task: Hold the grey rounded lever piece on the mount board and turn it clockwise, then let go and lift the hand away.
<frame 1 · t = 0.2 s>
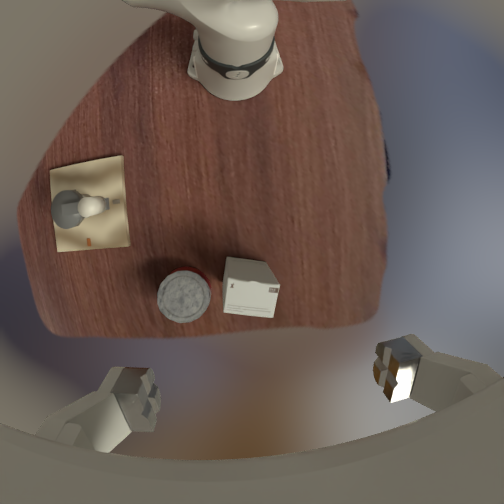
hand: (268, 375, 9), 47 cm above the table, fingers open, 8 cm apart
grey rounded lever piece: (72, 208, 42), point 11 cm above the table, hinge at 0.0°
skincare box: (245, 271, 58), on the table
canned food: (187, 288, 58), on the table
mount board: (88, 205, 53), on the table
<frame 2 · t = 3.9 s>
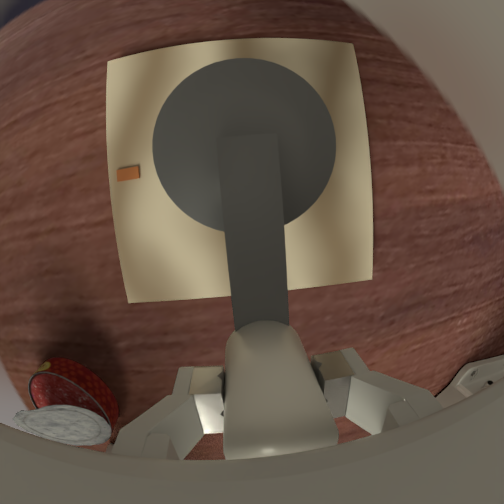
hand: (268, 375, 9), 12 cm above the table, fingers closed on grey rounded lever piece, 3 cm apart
grey rounded lever piece: (255, 227, 9), point 11 cm above the table, hinge at 0.0°, touching gripper
canned food: (78, 393, 24), on the table
mount board: (239, 161, 19), on the table
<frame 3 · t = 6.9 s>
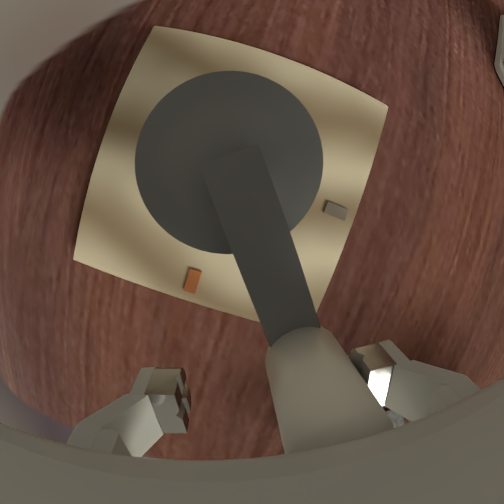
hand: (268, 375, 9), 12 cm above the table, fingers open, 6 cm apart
grey rounded lever piece: (263, 245, 9), point 11 cm above the table, hinge at 50.6°, touching gripper
mount board: (228, 172, 19), on the table
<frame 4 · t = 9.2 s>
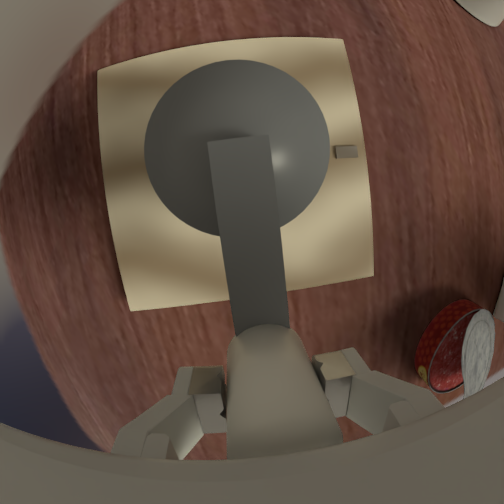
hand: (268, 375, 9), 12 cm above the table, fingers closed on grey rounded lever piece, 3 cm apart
grey rounded lever piece: (251, 231, 9), point 11 cm above the table, hinge at 90.3°, touching gripper
canned food: (448, 340, 25), on the table
mount board: (234, 164, 19), on the table
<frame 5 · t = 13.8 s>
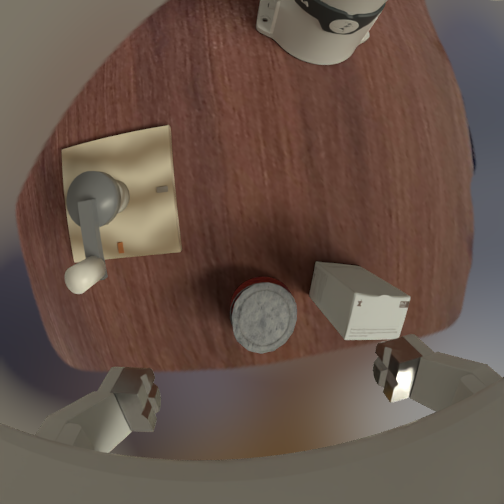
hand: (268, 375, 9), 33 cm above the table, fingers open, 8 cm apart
grey rounded lever piece: (84, 227, 29), point 11 cm above the table, hinge at 90.4°
skincare box: (336, 279, 44), on the table
canned food: (261, 305, 45), on the table
mount board: (118, 196, 39), on the table
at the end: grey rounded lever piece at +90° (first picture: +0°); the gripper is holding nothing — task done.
